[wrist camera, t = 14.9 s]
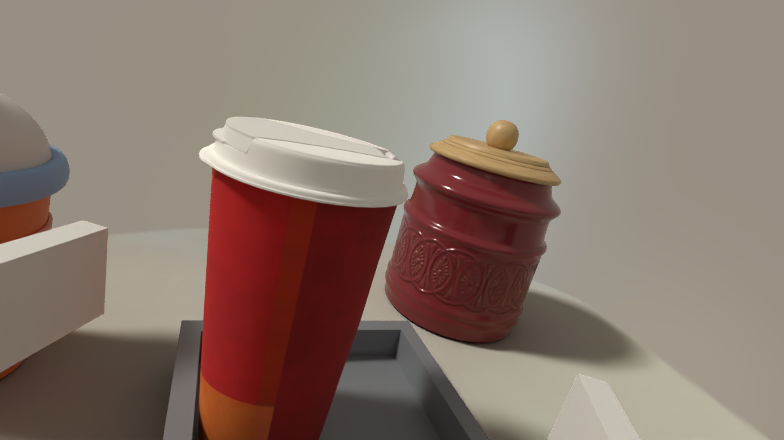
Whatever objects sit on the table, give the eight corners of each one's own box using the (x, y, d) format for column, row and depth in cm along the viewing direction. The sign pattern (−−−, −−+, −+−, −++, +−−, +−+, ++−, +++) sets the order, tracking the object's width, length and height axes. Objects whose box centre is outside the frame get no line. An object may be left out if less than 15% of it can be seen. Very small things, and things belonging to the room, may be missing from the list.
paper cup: (333, 373, 24) (390, 142, 20) (352, 500, 17) (446, 183, 13) (189, 368, 21) (221, 104, 17) (141, 512, 14) (177, 128, 10)
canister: (539, 327, 39) (613, 148, 33) (456, 364, 30) (540, 127, 25) (441, 266, 47) (488, 117, 42) (354, 280, 38) (400, 92, 33)
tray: (523, 578, 17) (548, 527, 16) (122, 719, 11) (129, 650, 10) (397, 356, 29) (408, 320, 28) (176, 365, 23) (182, 320, 22)
